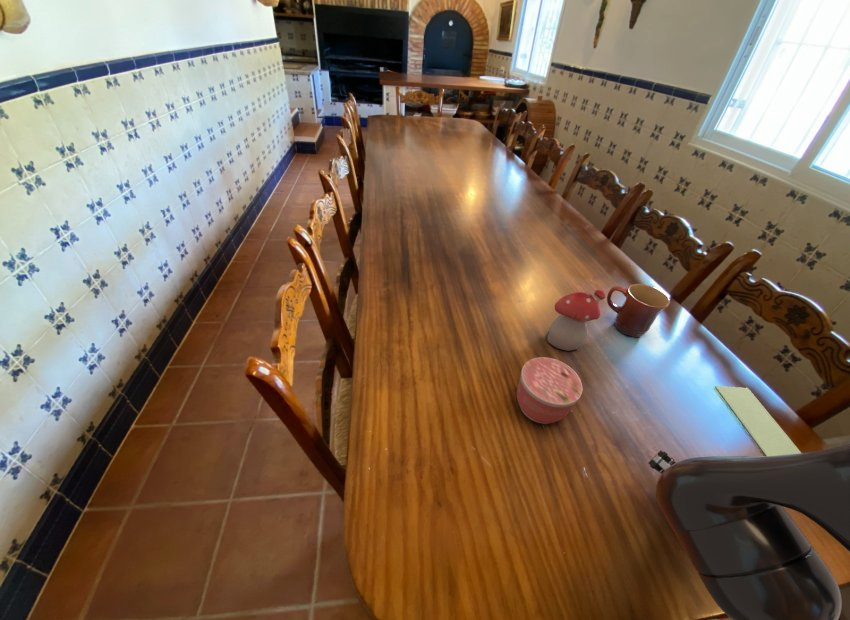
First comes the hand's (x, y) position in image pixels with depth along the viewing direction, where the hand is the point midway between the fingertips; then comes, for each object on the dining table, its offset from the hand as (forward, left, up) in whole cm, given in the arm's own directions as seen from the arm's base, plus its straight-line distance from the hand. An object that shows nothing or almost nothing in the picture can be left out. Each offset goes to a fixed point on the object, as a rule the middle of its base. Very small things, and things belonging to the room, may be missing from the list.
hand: (701, 494), depth 51 cm
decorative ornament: (+35, -10, -6) cm, 37 cm away
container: (+24, +7, -6) cm, 26 cm away
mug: (+33, -28, -6) cm, 43 cm away
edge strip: (+3, -29, -5) cm, 30 cm away
